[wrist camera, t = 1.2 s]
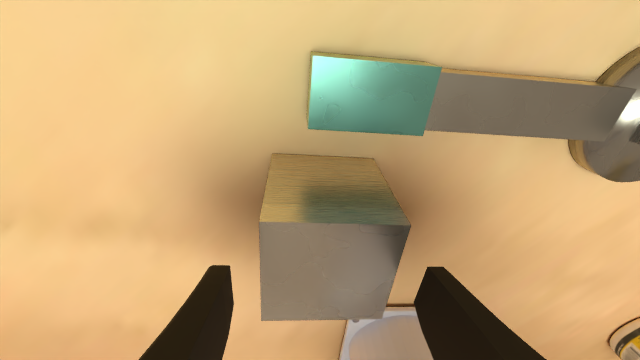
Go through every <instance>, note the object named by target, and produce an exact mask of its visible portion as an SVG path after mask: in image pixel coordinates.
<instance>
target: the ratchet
mask: <svg viewBox="0 0 640 360" xmlns="http://www.w3.org/2000/svg"><path fill="white" fill-rule="evenodd" d="M307 125H308V129H317V130H333V131H350V132H366V133H382V134H399V135H415V136H423V133H424V130H430V131H446V132H461V133H477V134H493V135H509V136H525V137H540V138H556V139H569V148H570V152H571V154H572V156H573V158H574V160H575V161H576V162H577V163H578V164H579V165H580V166H582V167H584V168H586V169H588V170H590V171H592V172H594V173H596V174H598V175H600V176H602V177H604V178H606V179H608V180H611V181H616V182H633V181H639V180H640V47H639V48H637V49H635V50H634V51H632V52H630V53H629V54H627V55H626V56H624V57H623V58H622V59H620V60H619V61H618V62H616V63H615V64H614V65H613V66H612V67H610V68H609V69H608V70H607V71H606V72H605V73H604V74H603V75H602V76H601V77H600V78H599V79H598V80H597V81H596V82H591V81H580V80H569V79H558V78H547V77H535V76H524V75H513V74H502V73H490V72H479V71H468V70H457V69H445V68H442V67H440V66H437V65H433V64H430V63H427V62H422V61H411V60H400V59H389V58H378V57H367V56H356V55H345V54H334V53H323V52H312V51H311V57H310V72H309V87H308V102H307Z"/></svg>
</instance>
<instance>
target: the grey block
mask: <svg viewBox="0 0 640 360" xmlns="http://www.w3.org/2000/svg"><path fill="white" fill-rule="evenodd" d="M410 227H411V224H410V223H409V221H408V219H407V217H406V216H405V214H404V212H403V210H402V209H401V207H400V205H399V203H398V202H397V200H396V198H395V196H394V195H393V193H392V191H391V189H390V187H389V186H388V184H387V182H386V180H385V179H384V177H383V175H382V173H381V172H380V170H379V168H378V166H377V165H376V163H375V161H374V159H371V158H351V157H331V156H312V155H292V154H272V156H271V162H270V167H269V172H268V177H267V183H266V188H265V193H264V199H263V204H262V209H261V214H260V220H259V239H260V283H261V321H282V320H361V319H382V317H383V314H384V310H385V307H386V304H387V301H388V298H389V294H390V291H391V288H392V285H393V282H394V278H395V275H396V272H397V269H398V266H399V262H400V259H401V256H402V253H403V249H404V246H405V243H406V240H407V237H408V233H409V230H410Z"/></svg>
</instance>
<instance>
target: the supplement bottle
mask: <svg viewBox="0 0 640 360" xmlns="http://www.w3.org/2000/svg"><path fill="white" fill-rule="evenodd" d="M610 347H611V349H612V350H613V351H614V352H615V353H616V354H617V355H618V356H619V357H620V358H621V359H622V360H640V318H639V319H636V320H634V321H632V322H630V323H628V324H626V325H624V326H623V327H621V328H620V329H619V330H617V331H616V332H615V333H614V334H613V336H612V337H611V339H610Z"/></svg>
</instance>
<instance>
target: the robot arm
mask: <svg viewBox="0 0 640 360" xmlns="http://www.w3.org/2000/svg"><path fill="white" fill-rule="evenodd" d="M233 305H234V302H233V292H232V282H231V271H230V266H225V265H212V266H210V267H209V268H208V270H207V271H206V273H205V274H204V276H203V277H202V279H201V280H200V282H199V283H198V285H197V286H196V288H195V289H194V290H193V292H192V293H191V295H190V296H189V297H188V299H187V300H186V302H185V303H184V304H183V306H182V307H181V308H180V309H179V311H178V312H177V313H176V315H175V316H174V317H173V319H172V320H171V321H170V322H169V324H168V325H167V326H166V328H165V329H164V330H163V331H162V332H161V334H160V335H159V336H158V337H157V338H156V340H155V341H154V342H153V343H152V344H151V346H150V347H149V348H148V349H147V350H146V352H145V353H144V354H143V355H142V356H141V357H140V359H139V360H222V357H223V354H224V350H225V346H226V343H227V339H228V335H229V329H230V324H231V318H232V312H233ZM414 305H415V307H385V310H384V314H383V317H382V319H361V320H347V324H346V329H345V334H344V338H343V343H342V348H341V352H340V357H339V360H546V359H545V358H544V357H542V356H541V355H540V354H539V353H537V352H536V351H535V350H534V349H533V348H531V347H530V346H529V345H528V344H527V343H526V342H524V341H523V340H522V339H521V338H520V337H519V336H517V335H516V334H515V333H514V332H513V331H512V330H510V329H509V328H508V327H507V326H506V325H505V324H504V323H503V322H501V321H500V320H499V319H498V318H497V317H496V316H495V315H494V314H493V313H492V312H491V311H489V310H488V309H487V308H486V307H485V306H484V305H483V304H482V303H481V302H480V301H479V300H478V299H477V298H476V297H475V296H474V295H472V294H471V293H470V292H469V291H468V290H467V289H466V288H465V287H464V286H463V285H462V284H461V283H460V282H459V281H458V280H457V279H456V278H455V277H454V276H453V275H451V274H450V273H449V272H448V271H447V270H446V269H445V268H444V267H427V270H426V272H425V275H424V277H423V280H422V283H421V285H420V288H419V290H418V293H417V295H416V298H415V301H414Z"/></svg>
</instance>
